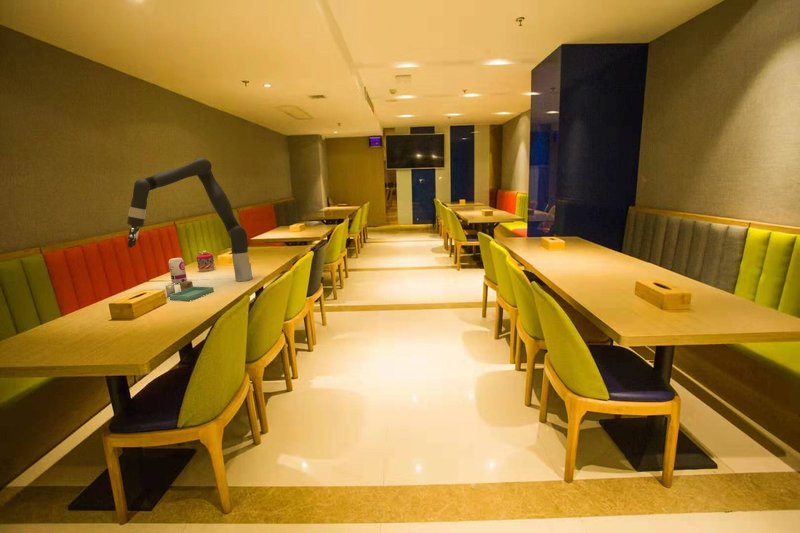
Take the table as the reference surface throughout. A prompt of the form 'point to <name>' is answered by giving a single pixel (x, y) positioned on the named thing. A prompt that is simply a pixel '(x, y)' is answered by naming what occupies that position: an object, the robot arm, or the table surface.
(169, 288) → the metal peg
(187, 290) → the tray
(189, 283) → the walnut block
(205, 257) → the cake
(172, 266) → the supplement can
